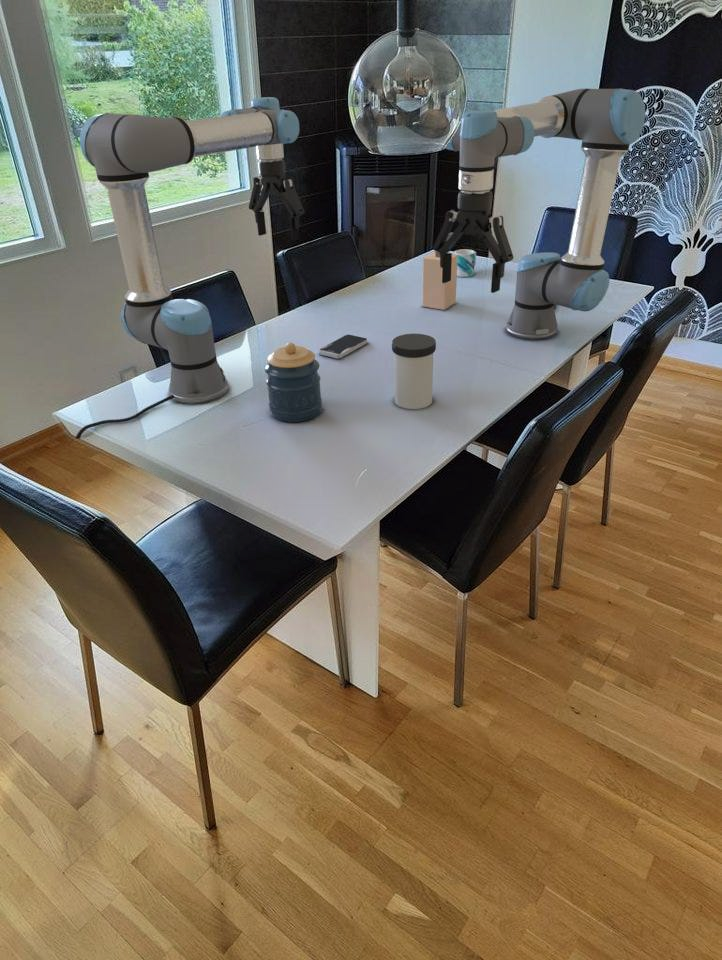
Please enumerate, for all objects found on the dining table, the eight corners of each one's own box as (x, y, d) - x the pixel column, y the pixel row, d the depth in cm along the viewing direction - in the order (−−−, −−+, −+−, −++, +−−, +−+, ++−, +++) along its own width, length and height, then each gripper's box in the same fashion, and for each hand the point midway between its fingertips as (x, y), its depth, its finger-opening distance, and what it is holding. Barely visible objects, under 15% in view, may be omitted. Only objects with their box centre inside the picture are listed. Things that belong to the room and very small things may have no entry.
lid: (444, 349, 161) (445, 341, 160) (411, 361, 155) (411, 353, 154) (415, 338, 168) (415, 330, 167) (383, 349, 162) (382, 340, 161)
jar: (440, 401, 168) (441, 343, 160) (411, 412, 163) (412, 353, 155) (414, 389, 175) (415, 333, 166) (386, 400, 170) (386, 342, 161)
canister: (275, 426, 159) (266, 357, 150) (266, 403, 170) (257, 337, 160) (328, 418, 162) (323, 349, 153) (316, 396, 173) (310, 330, 163)
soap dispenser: (444, 310, 225) (446, 242, 213) (422, 306, 229) (423, 239, 217) (461, 299, 234) (464, 233, 222) (439, 295, 238) (440, 231, 226)
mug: (449, 275, 259) (450, 253, 254) (462, 267, 267) (463, 245, 262) (469, 277, 255) (470, 255, 250) (481, 269, 263) (483, 247, 259)
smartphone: (368, 338, 202) (338, 355, 192) (368, 342, 203) (339, 359, 192) (347, 334, 206) (317, 350, 195) (347, 338, 206) (317, 354, 196)
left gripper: (313, 160, 186) (318, 239, 198) (249, 155, 199) (257, 230, 211) (295, 164, 181) (301, 245, 193) (230, 159, 194) (240, 235, 206)
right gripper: (419, 188, 153) (418, 281, 164) (517, 198, 139) (508, 299, 150) (438, 183, 157) (436, 274, 169) (534, 192, 143) (525, 291, 155)
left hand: (278, 237), depth 202 cm, fingers open, 13 cm apart
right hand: (470, 286), depth 160 cm, fingers open, 13 cm apart
